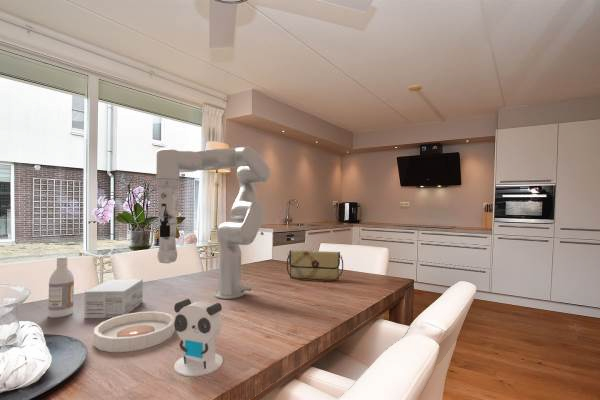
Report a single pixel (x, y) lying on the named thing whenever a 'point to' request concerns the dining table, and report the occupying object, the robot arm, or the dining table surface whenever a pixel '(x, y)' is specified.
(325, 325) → the dining table surface
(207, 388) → the dining table surface
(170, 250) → the plastic bottle
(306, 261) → the clutch purse
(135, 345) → the round tray
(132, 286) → the supplement box
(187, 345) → the panda figurine
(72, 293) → the bath foam
